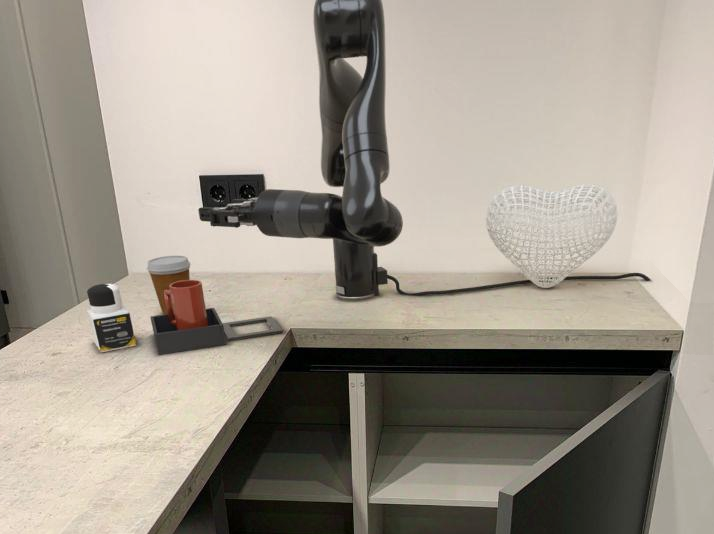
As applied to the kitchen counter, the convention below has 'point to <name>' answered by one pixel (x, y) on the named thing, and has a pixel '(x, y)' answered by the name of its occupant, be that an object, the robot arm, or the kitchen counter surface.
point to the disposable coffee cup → (167, 275)
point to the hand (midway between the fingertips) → (216, 209)
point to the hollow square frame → (232, 336)
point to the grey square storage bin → (187, 334)
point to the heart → (551, 196)
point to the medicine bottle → (109, 318)
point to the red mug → (186, 304)
